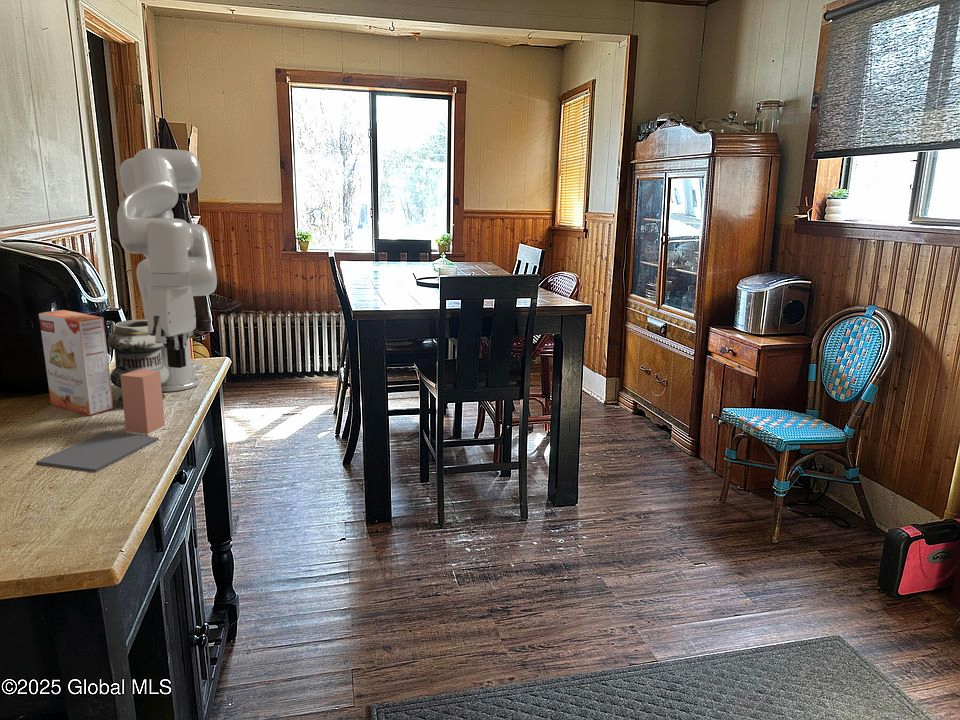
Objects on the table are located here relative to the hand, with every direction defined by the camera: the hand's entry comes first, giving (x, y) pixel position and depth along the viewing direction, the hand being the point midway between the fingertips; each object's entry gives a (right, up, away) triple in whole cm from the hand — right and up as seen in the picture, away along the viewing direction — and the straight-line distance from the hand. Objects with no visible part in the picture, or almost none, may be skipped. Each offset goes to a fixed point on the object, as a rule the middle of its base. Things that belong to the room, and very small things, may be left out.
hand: (177, 366), depth 141 cm
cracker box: (-23, -9, +5) cm, 26 cm away
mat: (-6, -16, -19) cm, 25 cm away
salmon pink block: (-3, -13, -7) cm, 15 cm away
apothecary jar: (-14, -8, +12) cm, 20 cm away
